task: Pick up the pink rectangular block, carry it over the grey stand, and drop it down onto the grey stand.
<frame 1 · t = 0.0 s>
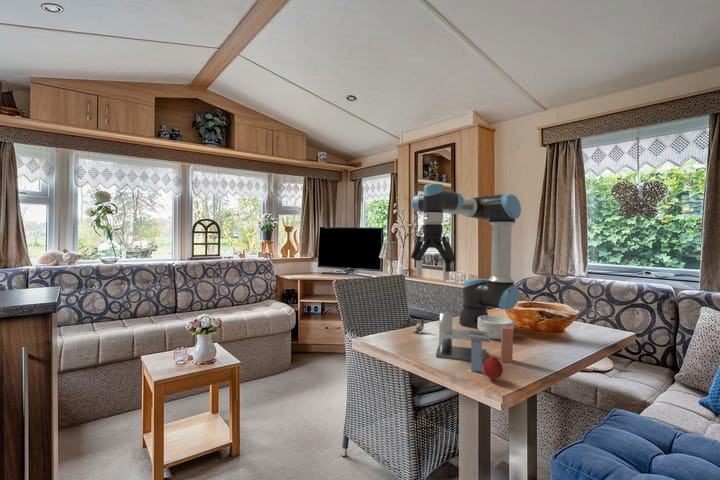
hand: (431, 278, 138), 28 cm above the table, tool pointing down, fingers open, 13 cm apart
greenish grey small figure: (419, 333, 162), on the table
onion: (492, 380, 110), on the table
grey stand: (475, 356, 131), on the table
paper bowls: (495, 337, 158), on the table
pink rectangular block: (506, 360, 127), on the table
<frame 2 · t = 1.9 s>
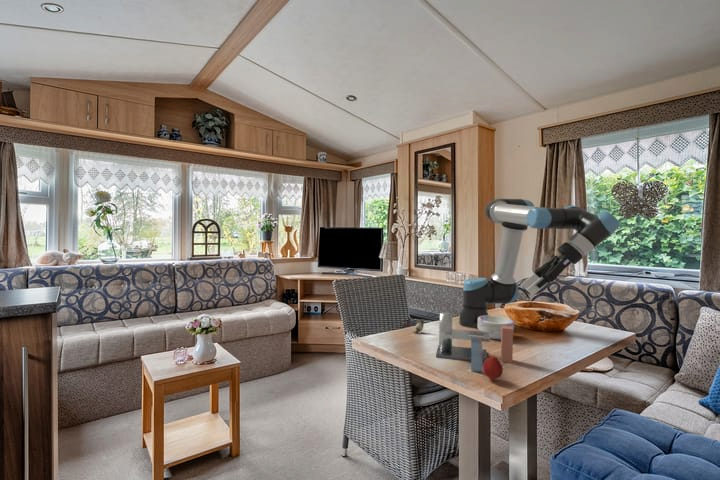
hand: (526, 290, 126), 26 cm above the table, tool tilted 45°, fingers open, 13 cm apart
nothing on the table moved.
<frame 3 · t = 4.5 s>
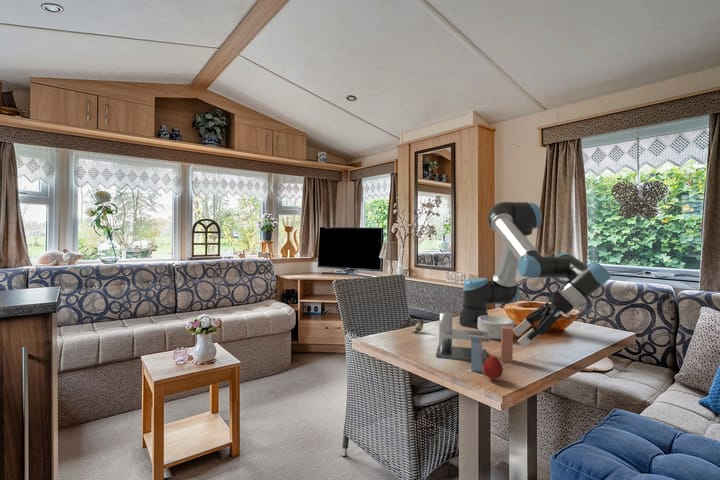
hand: (517, 338, 125), 9 cm above the table, tool tilted 45°, fingers open, 13 cm apart
nothing on the table moved.
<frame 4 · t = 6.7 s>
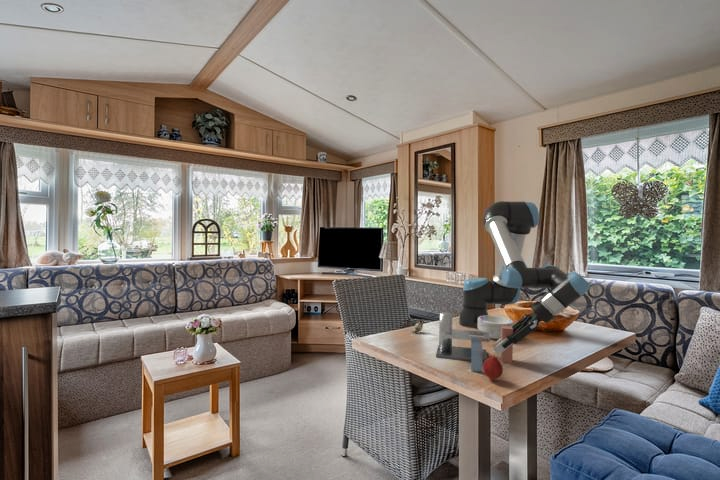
hand: (495, 350, 128), 3 cm above the table, tool tilted 45°, fingers closed on pink rectangular block, 3 cm apart
pink rectangular block: (506, 360, 127), on the table, touching gripper
everything else where it was.
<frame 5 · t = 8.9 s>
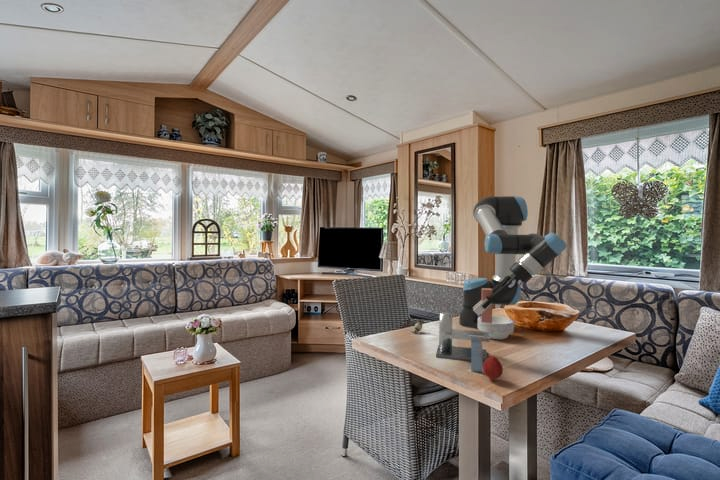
hand: (475, 311, 130), 17 cm above the table, tool tilted 45°, fingers closed on pink rectangular block, 3 cm apart
pink rectangular block: (486, 321, 129), point 13 cm above the table, touching gripper
everything else where it was.
when the fingers open (10 cm above the table, at t = 11.1 s): pink rectangular block drops 5 cm, resting on grey stand.
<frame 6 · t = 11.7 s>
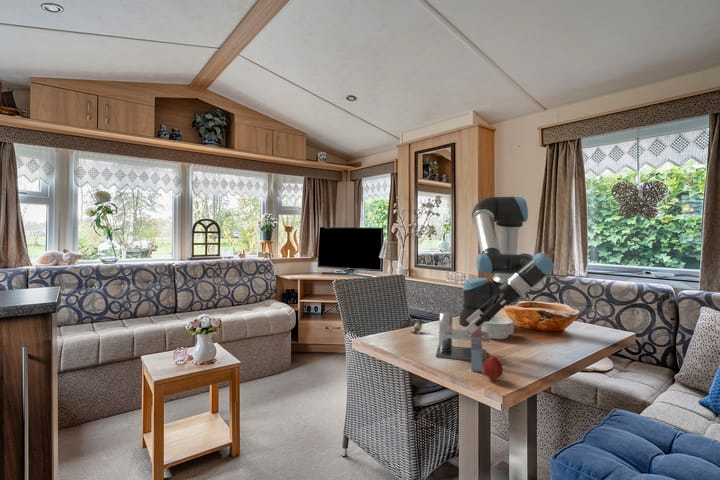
hand: (468, 326, 132), 11 cm above the table, tool tilted 45°, fingers open, 12 cm apart
pink rectangular block: (475, 353, 131), point 1 cm above the table, touching grey stand
everything else where it was.
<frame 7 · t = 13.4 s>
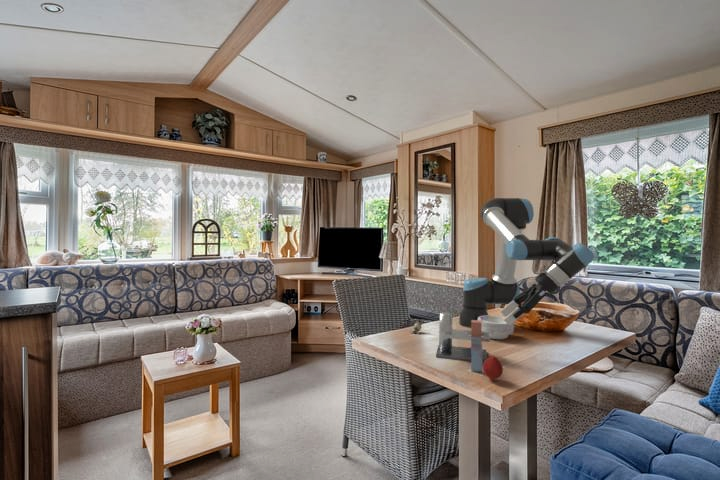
hand: (504, 318, 129), 15 cm above the table, tool tilted 45°, fingers open, 13 cm apart
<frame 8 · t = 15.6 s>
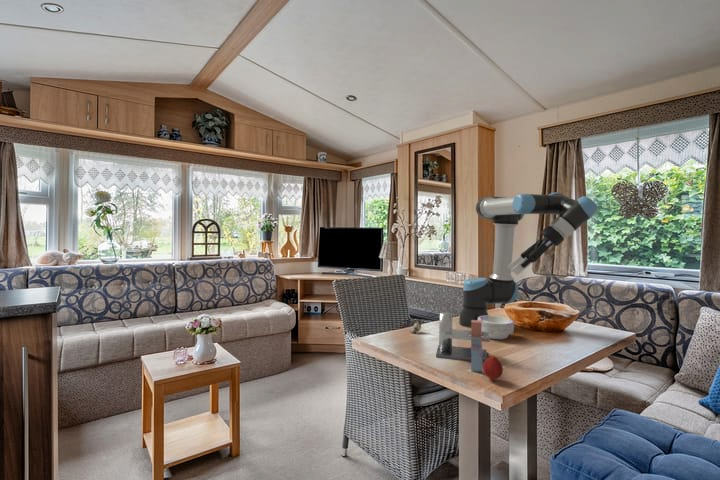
hand: (512, 270, 135), 32 cm above the table, tool tilted 45°, fingers open, 13 cm apart
at the end: pink rectangular block 0.1 cm off-centre on the grey stand, point 1.0 cm above the grey stand's base; pink rectangular block tilted 0°; the gripper is holding nothing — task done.
